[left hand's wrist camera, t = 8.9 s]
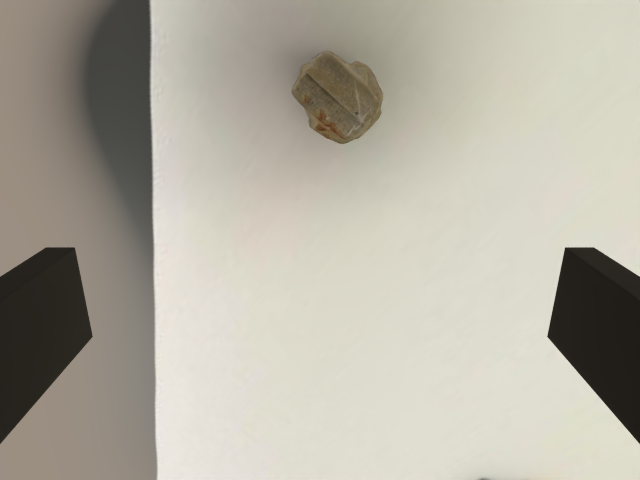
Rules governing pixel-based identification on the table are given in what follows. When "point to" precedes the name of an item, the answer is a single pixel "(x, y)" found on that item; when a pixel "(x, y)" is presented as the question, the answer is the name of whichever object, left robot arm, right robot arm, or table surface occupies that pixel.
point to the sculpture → (338, 97)
